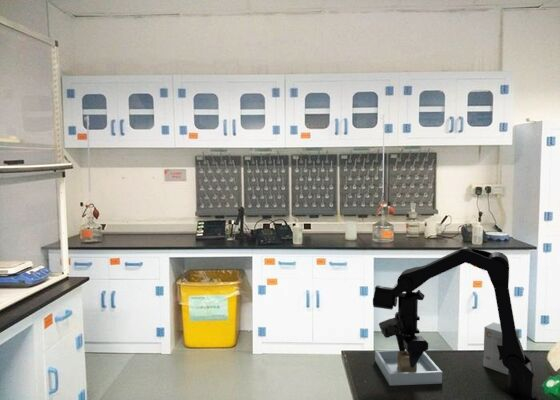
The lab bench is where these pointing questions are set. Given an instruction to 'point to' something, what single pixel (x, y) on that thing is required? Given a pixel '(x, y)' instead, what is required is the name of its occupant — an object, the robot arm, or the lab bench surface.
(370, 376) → the lab bench surface
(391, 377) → the sorting tray
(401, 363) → the walnut block
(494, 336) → the small box
